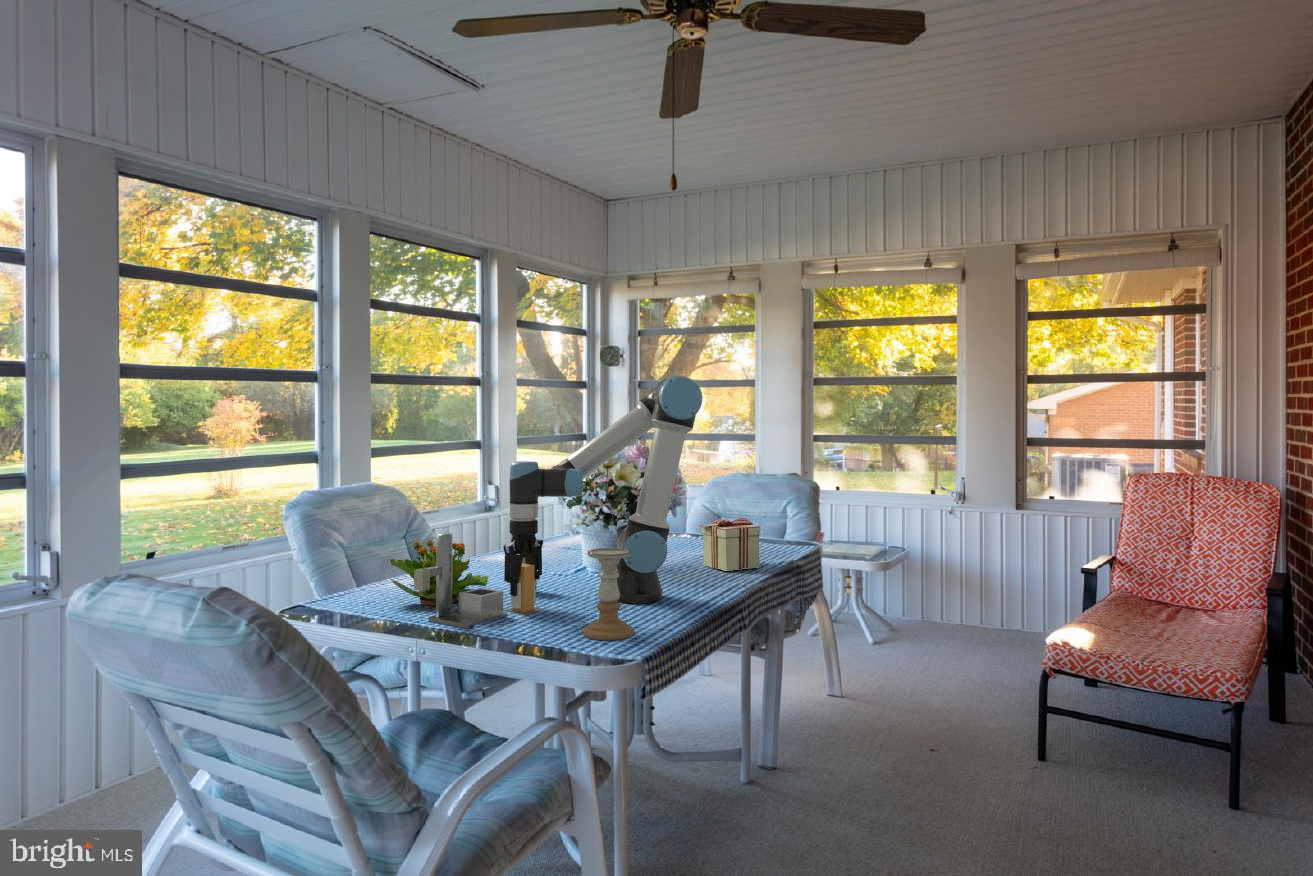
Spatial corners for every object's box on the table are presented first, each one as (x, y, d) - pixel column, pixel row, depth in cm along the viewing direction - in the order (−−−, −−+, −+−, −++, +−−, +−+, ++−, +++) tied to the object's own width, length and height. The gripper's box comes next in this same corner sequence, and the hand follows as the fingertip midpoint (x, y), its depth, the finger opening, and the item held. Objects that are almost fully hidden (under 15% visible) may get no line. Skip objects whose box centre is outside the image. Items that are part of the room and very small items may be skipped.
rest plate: (544, 611, 224) (544, 608, 224) (525, 617, 217) (525, 614, 217) (521, 607, 228) (521, 605, 228) (502, 613, 221) (502, 610, 221)
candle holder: (580, 640, 195) (581, 555, 194) (585, 627, 207) (585, 546, 207) (633, 641, 195) (633, 555, 194) (634, 627, 207) (635, 547, 207)
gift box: (728, 561, 305) (729, 514, 304) (762, 569, 290) (763, 519, 289) (691, 565, 295) (692, 517, 295) (725, 574, 280) (725, 523, 279)
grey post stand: (507, 617, 217) (507, 533, 216) (453, 633, 200) (453, 542, 200) (467, 610, 224) (468, 529, 223) (412, 625, 208) (412, 537, 207)
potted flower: (456, 615, 219) (456, 549, 218) (373, 610, 223) (373, 545, 223) (491, 595, 243) (492, 535, 243) (416, 591, 248) (416, 533, 247)
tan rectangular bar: (534, 609, 223) (534, 564, 223) (524, 612, 220) (524, 567, 220) (522, 607, 226) (522, 563, 225) (512, 610, 222) (512, 565, 222)
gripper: (535, 514, 232) (534, 597, 232) (489, 521, 216) (489, 610, 217) (556, 516, 228) (555, 601, 229) (511, 523, 212) (511, 614, 213)
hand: (523, 605), depth 223 cm, fingers open, 5 cm apart
